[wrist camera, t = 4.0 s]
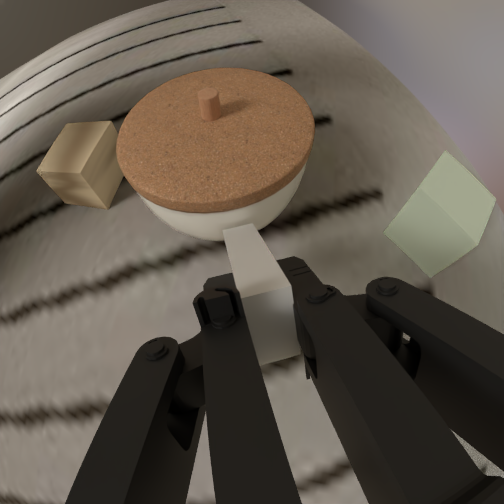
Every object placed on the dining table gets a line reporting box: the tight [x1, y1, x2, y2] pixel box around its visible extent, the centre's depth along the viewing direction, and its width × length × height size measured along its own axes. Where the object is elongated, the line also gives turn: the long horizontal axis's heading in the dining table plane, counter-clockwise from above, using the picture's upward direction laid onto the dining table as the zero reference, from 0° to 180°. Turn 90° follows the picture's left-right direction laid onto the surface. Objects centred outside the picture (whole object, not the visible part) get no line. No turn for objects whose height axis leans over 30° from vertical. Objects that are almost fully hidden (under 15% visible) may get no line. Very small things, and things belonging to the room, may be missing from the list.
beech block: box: [36, 121, 124, 209], centre depth 20 cm, size 5×5×5 cm
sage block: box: [383, 150, 496, 278], centre depth 17 cm, size 5×5×6 cm
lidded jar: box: [116, 68, 315, 241], centre depth 17 cm, size 11×11×9 cm
